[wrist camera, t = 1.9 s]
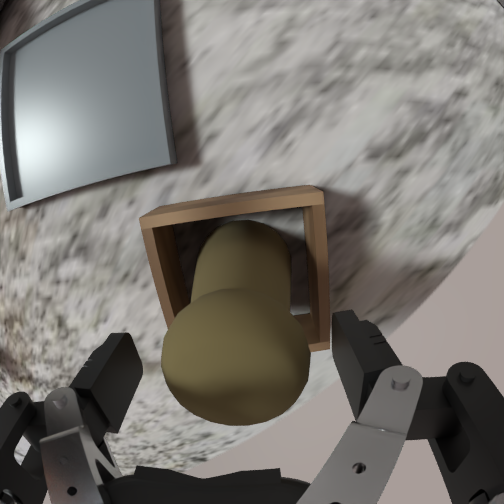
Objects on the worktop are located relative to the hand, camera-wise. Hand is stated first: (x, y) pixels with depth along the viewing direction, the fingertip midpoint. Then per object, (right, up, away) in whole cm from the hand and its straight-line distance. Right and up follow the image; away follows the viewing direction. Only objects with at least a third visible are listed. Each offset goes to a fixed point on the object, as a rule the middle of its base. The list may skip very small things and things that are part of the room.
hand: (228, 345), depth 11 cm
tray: (-11, +15, +4) cm, 19 cm away
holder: (0, +3, +8) cm, 8 cm away
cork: (0, +3, +8) cm, 8 cm away
